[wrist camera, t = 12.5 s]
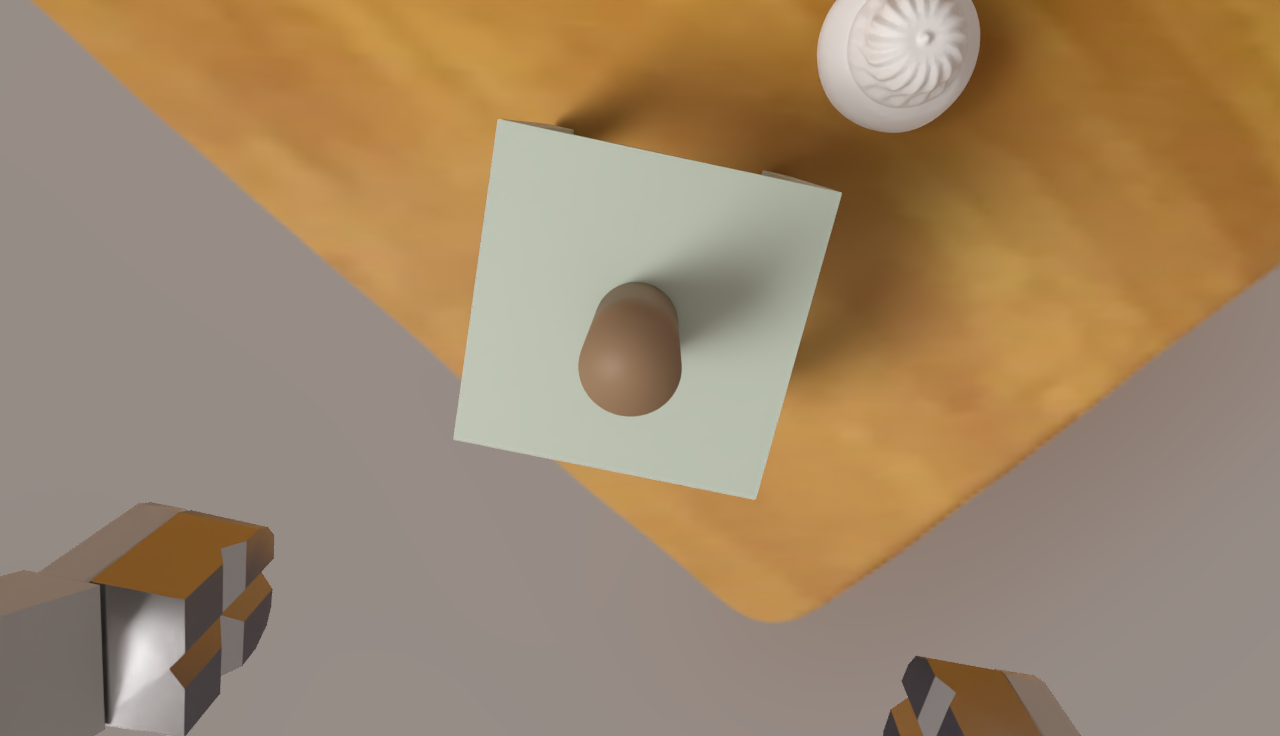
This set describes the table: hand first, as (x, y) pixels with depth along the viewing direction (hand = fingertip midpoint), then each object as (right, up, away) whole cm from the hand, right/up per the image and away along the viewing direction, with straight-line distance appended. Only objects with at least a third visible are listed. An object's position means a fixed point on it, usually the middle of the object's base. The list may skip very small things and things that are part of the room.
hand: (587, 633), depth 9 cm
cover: (+1, +8, +25) cm, 26 cm away
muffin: (+11, +17, +23) cm, 30 cm away
